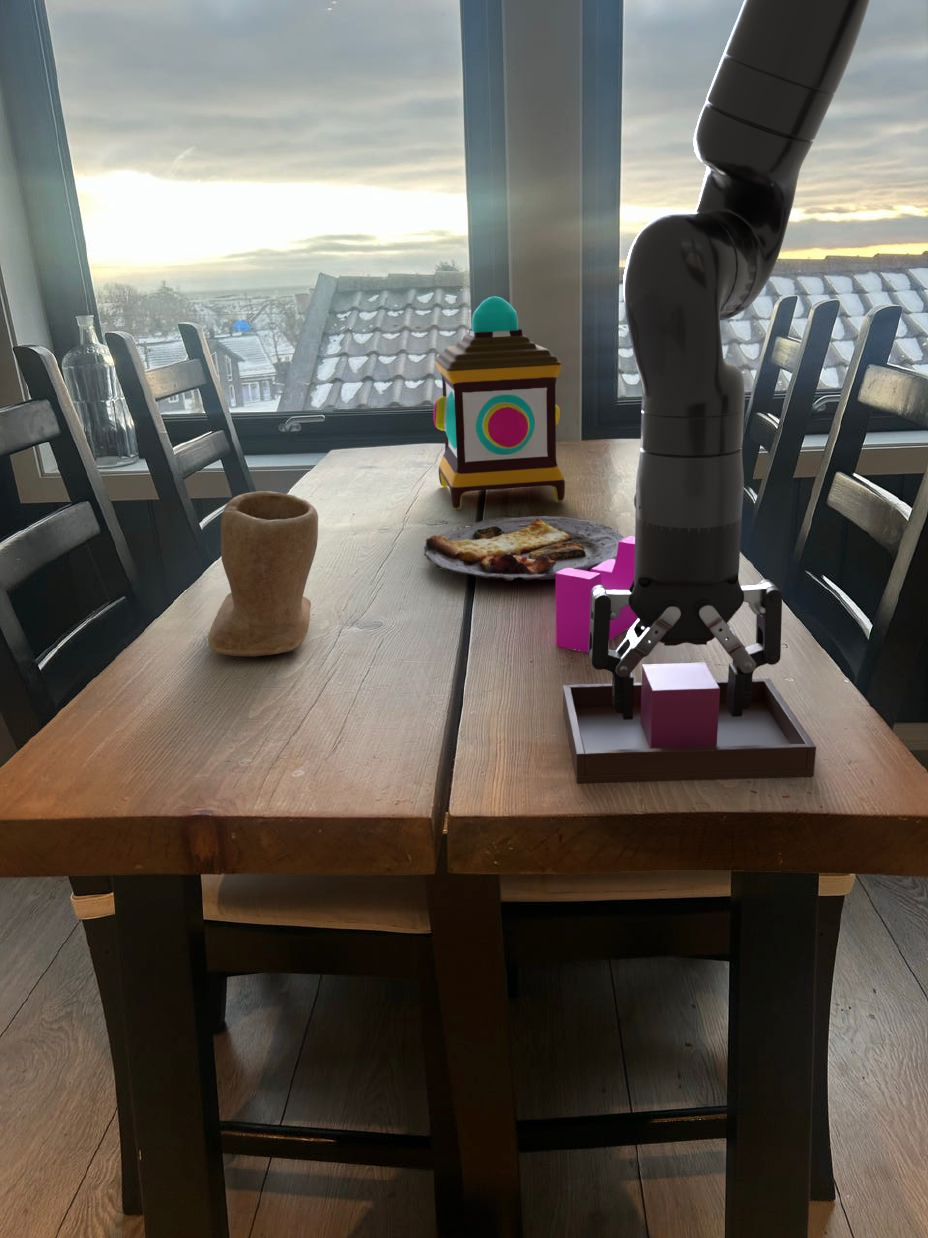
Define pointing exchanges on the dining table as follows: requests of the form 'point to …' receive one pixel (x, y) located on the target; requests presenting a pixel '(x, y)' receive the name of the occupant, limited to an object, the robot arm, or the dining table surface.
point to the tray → (743, 747)
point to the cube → (679, 705)
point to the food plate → (523, 547)
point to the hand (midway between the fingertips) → (680, 714)
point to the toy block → (577, 597)
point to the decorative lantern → (498, 408)
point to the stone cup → (265, 574)
